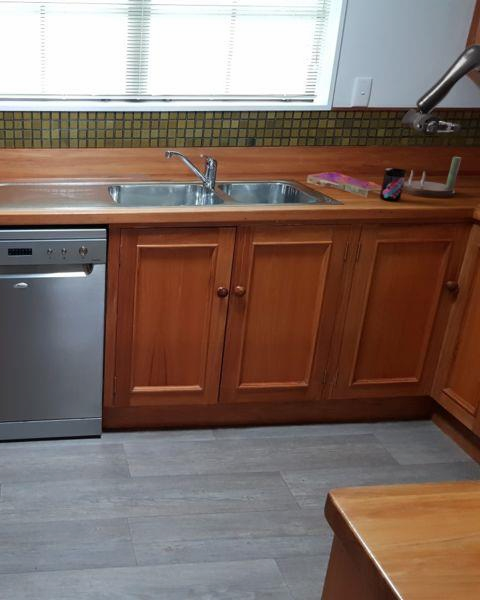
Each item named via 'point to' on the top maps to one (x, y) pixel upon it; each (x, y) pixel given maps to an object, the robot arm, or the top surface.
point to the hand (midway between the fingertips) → (447, 129)
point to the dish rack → (432, 186)
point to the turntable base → (428, 194)
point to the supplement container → (392, 184)
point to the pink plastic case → (349, 181)
